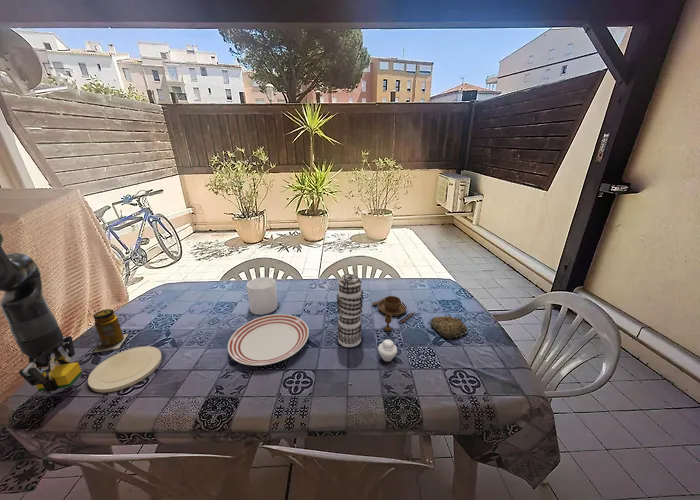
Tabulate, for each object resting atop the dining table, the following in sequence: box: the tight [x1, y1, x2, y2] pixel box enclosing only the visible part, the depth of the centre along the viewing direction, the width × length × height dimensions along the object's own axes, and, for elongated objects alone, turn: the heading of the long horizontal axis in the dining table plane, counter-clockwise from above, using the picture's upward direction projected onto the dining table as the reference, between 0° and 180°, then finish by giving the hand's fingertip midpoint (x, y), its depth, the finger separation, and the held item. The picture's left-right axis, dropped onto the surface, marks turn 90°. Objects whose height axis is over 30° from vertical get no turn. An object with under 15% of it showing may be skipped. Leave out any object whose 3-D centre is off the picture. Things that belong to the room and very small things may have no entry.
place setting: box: [372, 295, 414, 333], centre depth 113 cm, size 18×20×6 cm
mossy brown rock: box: [430, 315, 468, 339], centre depth 104 cm, size 13×12×5 cm
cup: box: [246, 276, 279, 316], centre depth 116 cm, size 12×12×12 cm
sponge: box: [35, 362, 84, 393], centre depth 74 cm, size 7×5×4 cm
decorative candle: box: [336, 273, 364, 348], centre depth 94 cm, size 9×9×25 cm
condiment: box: [92, 308, 129, 353], centre depth 94 cm, size 7×8×12 cm
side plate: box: [87, 345, 163, 394], centre depth 84 cm, size 18×18×1 cm
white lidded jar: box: [377, 338, 398, 362], centre depth 88 cm, size 6×6×7 cm
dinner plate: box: [227, 313, 310, 367], centre depth 96 cm, size 28×27×3 cm
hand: (61, 381), depth 75 cm, fingers closed on sponge, 5 cm apart
